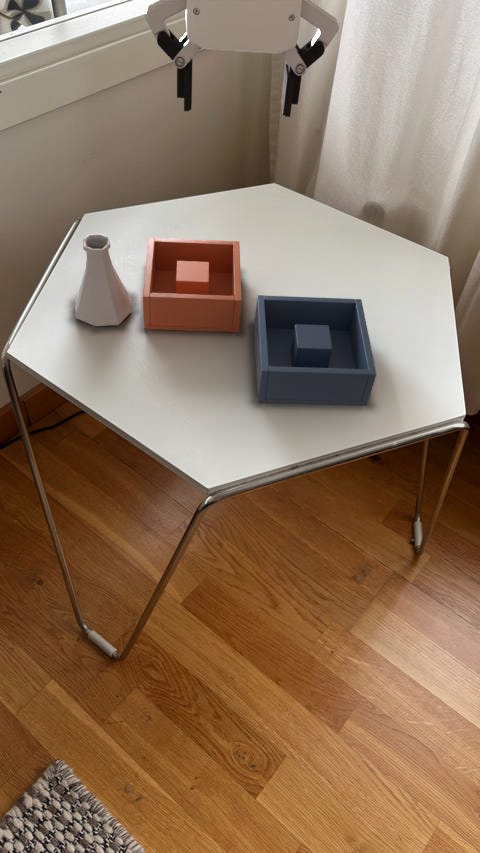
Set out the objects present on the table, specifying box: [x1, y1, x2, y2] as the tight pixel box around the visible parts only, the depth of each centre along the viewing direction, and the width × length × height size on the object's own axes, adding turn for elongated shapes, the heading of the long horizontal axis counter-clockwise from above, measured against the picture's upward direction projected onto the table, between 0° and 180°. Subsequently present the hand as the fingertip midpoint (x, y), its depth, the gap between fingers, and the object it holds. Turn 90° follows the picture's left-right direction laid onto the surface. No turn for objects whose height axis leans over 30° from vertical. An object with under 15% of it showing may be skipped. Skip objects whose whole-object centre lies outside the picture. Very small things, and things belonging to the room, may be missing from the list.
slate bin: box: [253, 294, 377, 406], centre depth 83 cm, size 13×13×5 cm
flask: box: [74, 233, 132, 327], centre depth 85 cm, size 7×7×10 cm
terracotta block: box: [176, 261, 209, 295], centre depth 89 cm, size 4×4×4 cm
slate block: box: [291, 324, 332, 368], centre depth 83 cm, size 4×4×4 cm
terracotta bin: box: [142, 237, 243, 333], centre depth 89 cm, size 12×12×5 cm
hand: (236, 107), depth 70 cm, fingers open, 9 cm apart
